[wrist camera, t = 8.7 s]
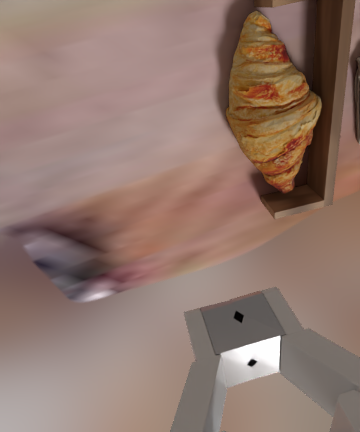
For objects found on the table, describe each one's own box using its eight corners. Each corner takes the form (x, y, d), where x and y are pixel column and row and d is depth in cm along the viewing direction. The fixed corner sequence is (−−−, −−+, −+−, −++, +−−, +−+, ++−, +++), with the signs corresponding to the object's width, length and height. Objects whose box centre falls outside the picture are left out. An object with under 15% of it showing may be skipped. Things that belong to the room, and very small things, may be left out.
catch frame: (261, 201, 46) (274, 219, 42) (253, -5, 32) (272, -7, 28) (314, 188, 46) (332, 204, 42) (329, -22, 32) (358, -25, 29)
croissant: (211, 22, 36) (193, 41, 30) (308, -15, 31) (308, -1, 26) (254, 180, 47) (246, 215, 42) (329, 169, 43) (332, 207, 37)
